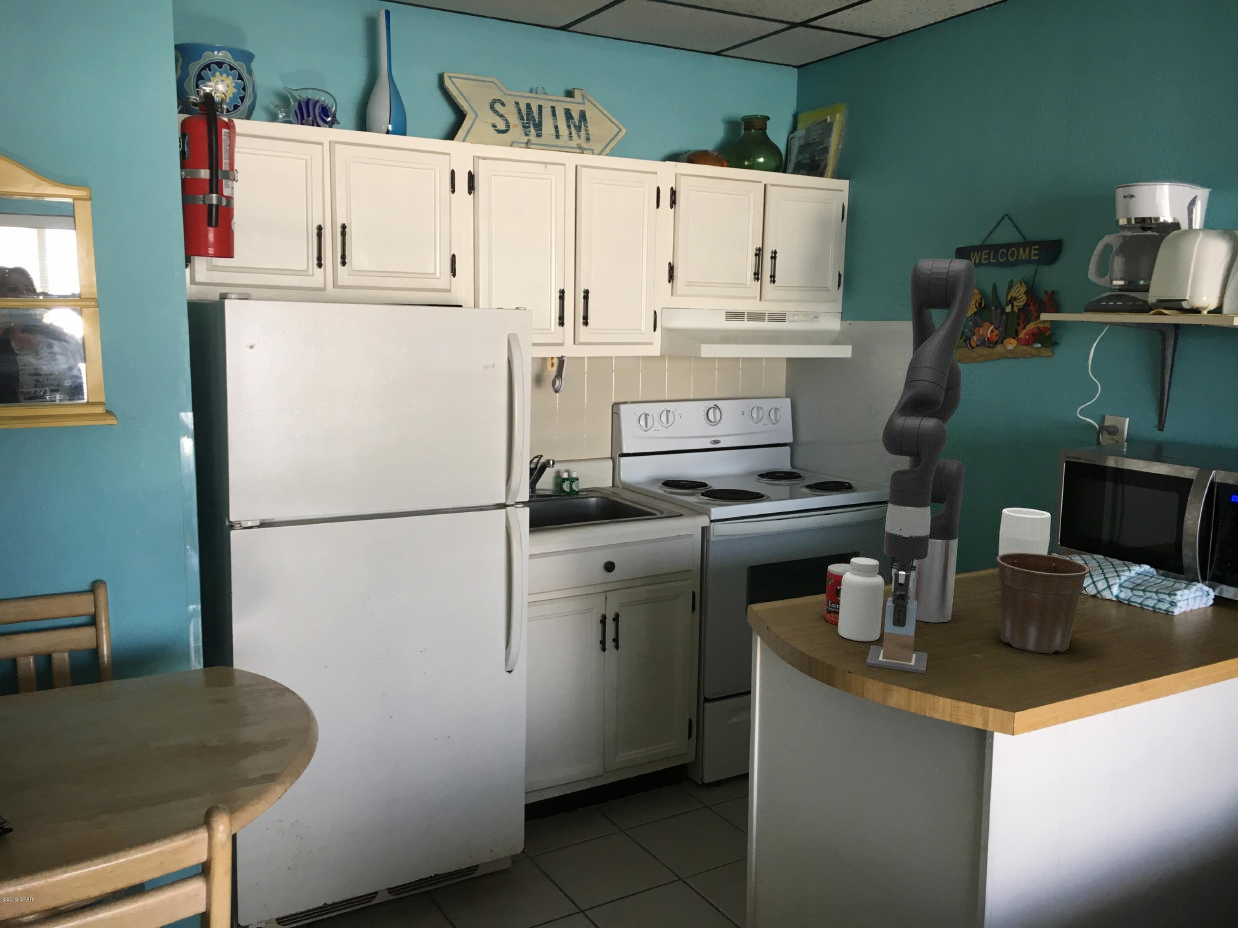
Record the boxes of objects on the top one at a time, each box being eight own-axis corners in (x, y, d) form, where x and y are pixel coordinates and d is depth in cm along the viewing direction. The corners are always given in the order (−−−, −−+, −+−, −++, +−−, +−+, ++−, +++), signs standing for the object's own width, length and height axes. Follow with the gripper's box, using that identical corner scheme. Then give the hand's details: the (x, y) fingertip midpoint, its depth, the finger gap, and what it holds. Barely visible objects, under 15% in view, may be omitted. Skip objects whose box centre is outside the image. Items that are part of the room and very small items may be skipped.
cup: (1047, 608, 213) (1056, 511, 210) (1038, 619, 205) (1048, 518, 202) (997, 600, 219) (1005, 505, 216) (987, 610, 210) (995, 512, 207)
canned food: (821, 623, 196) (824, 570, 195) (828, 613, 204) (831, 561, 202) (859, 628, 194) (863, 574, 192) (865, 618, 201) (869, 566, 199)
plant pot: (1087, 662, 178) (1096, 576, 175) (992, 651, 182) (1000, 567, 180) (1073, 637, 193) (1081, 557, 191) (986, 627, 198) (993, 549, 195)
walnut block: (884, 650, 178) (886, 624, 178) (912, 654, 177) (915, 627, 176) (882, 658, 174) (884, 631, 173) (911, 662, 172) (913, 635, 171)
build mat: (871, 648, 181) (871, 644, 181) (927, 656, 178) (927, 652, 178) (865, 665, 172) (866, 661, 172) (925, 673, 169) (925, 669, 169)
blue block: (886, 624, 178) (888, 597, 177) (914, 627, 176) (917, 600, 175) (884, 631, 173) (886, 604, 172) (913, 635, 171) (915, 607, 171)
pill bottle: (881, 644, 184) (887, 566, 182) (838, 640, 186) (843, 563, 184) (878, 631, 192) (884, 557, 190) (837, 627, 194) (842, 554, 191)
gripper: (888, 520, 180) (882, 607, 182) (881, 534, 166) (875, 628, 169) (931, 524, 177) (924, 612, 179) (927, 539, 164) (920, 634, 166)
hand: (900, 620), depth 174 cm, fingers open, 7 cm apart
